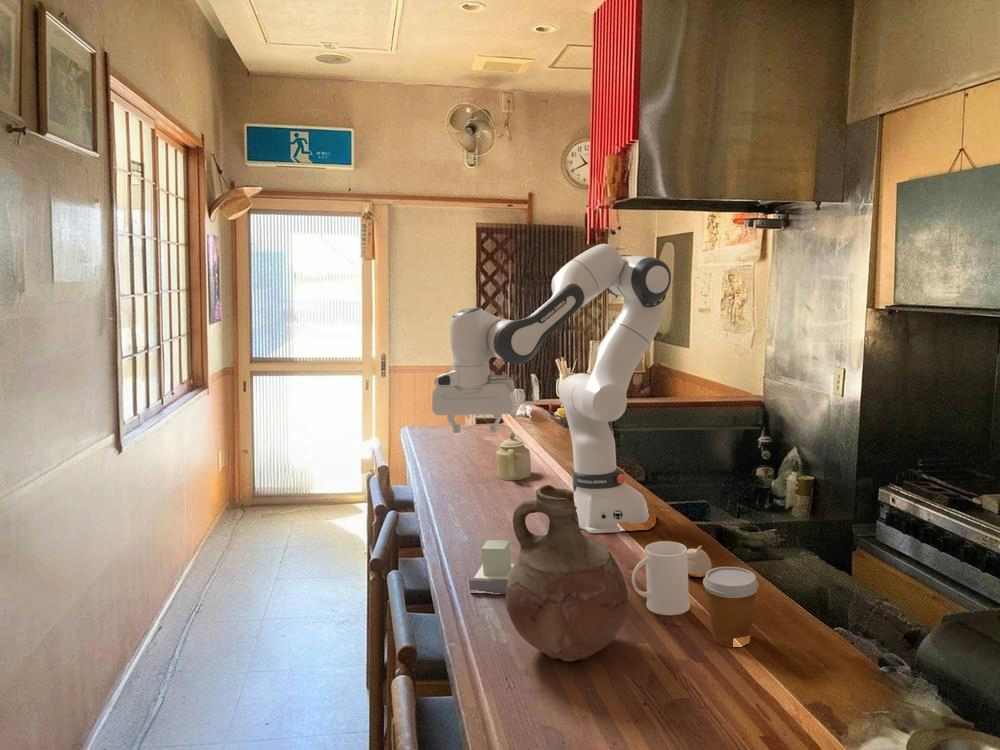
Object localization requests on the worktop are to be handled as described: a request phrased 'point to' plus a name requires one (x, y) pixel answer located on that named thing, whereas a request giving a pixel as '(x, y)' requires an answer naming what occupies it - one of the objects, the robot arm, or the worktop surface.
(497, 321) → the robot arm
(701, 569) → the garlic bulb
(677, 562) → the mug
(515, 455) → the sugar bowl
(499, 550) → the green block
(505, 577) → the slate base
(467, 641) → the worktop surface
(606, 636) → the jug
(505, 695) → the worktop surface
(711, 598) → the disposable coffee cup
